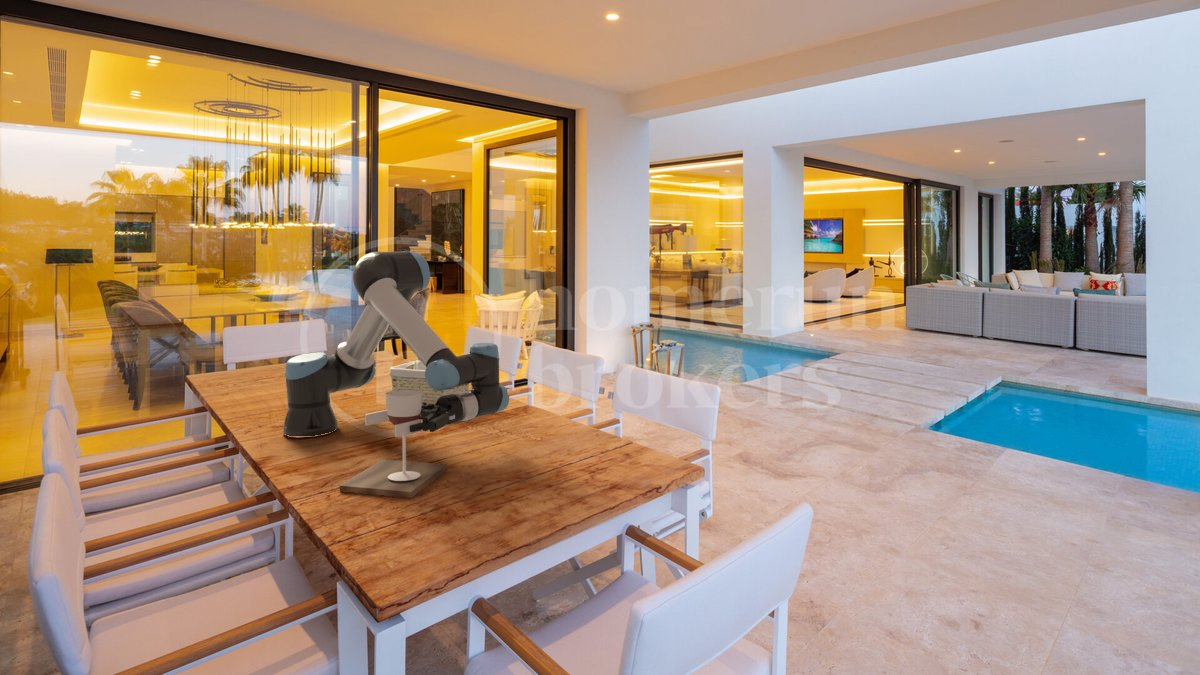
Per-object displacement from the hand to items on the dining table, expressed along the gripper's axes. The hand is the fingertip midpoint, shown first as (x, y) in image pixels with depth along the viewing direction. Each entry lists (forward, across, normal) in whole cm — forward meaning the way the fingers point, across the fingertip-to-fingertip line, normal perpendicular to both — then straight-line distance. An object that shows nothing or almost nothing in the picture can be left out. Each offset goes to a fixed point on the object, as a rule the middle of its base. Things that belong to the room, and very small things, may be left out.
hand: (379, 425), depth 146 cm
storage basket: (-49, +54, -15) cm, 74 cm away
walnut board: (-3, 0, -14) cm, 15 cm away
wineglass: (-4, -3, -13) cm, 14 cm away
